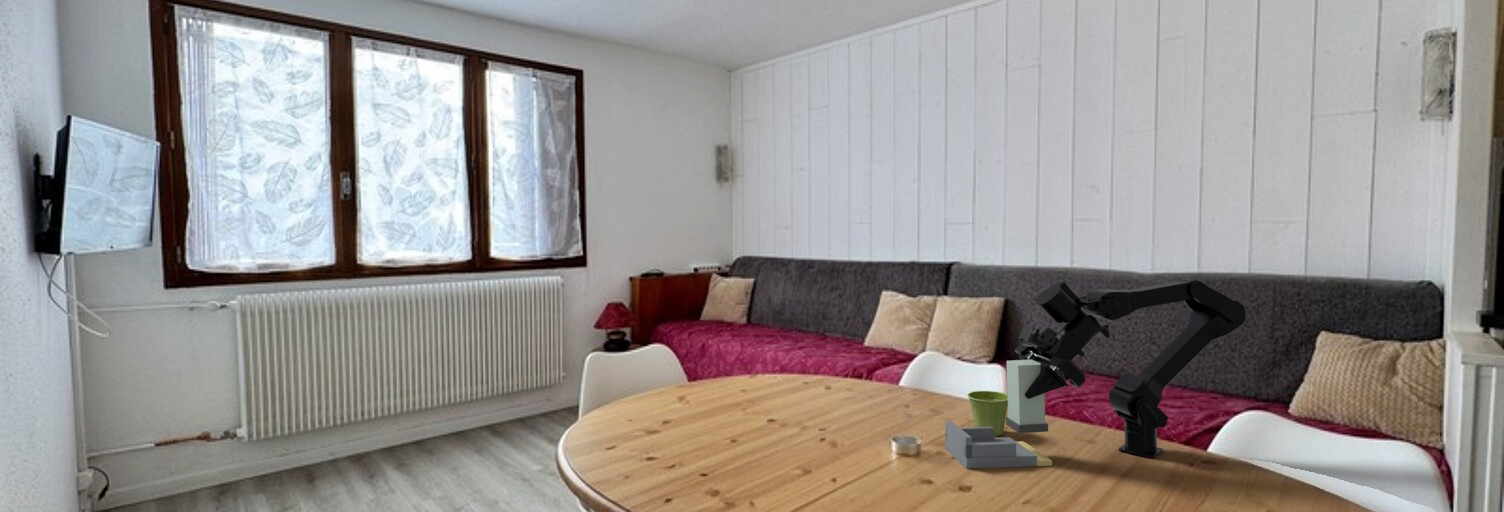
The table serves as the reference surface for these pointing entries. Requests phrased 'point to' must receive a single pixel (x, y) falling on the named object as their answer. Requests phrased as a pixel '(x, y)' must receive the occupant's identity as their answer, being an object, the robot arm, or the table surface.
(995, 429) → the plant pot
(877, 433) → the table surface
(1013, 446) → the dock
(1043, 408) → the pale green tall block
